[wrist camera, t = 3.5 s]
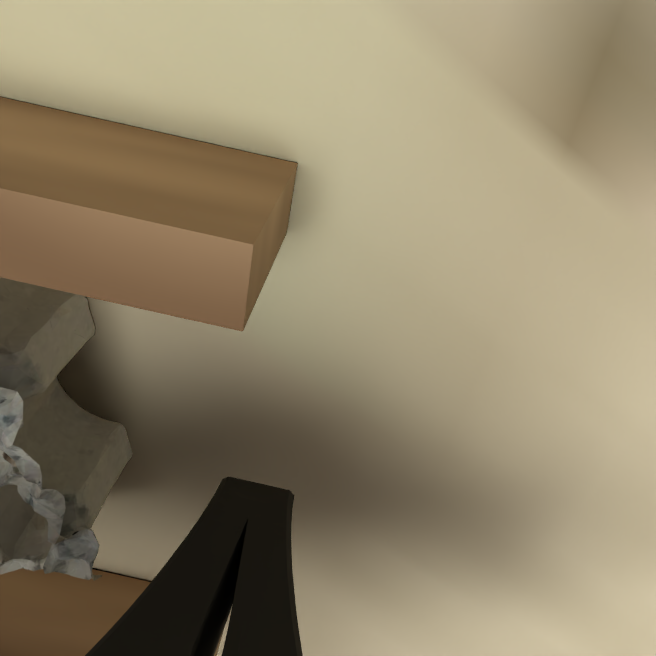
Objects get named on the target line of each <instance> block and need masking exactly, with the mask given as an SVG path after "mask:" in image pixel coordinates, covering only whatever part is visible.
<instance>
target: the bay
mask: <svg viewBox="0 0 656 656" xmlns="http://www.w3.org/2000/svg"><path fill="white" fill-rule="evenodd" d="M297 164H298V163H294V162H290V161H285V160H281V159H276V158H272V157H267V156H263V155H258V154H254V153H249V152H245V151H240V150H236V149H231V148H227V147H222V146H218V145H213V144H209V143H204V142H200V141H195V140H191V139H186V138H182V137H178V136H173V135H169V134H164V133H160V132H155V131H151V130H146V129H142V128H137V127H133V126H128V125H124V124H119V123H115V122H110V121H106V120H101V119H97V118H92V117H88V116H83V115H79V114H74V113H70V112H65V111H61V110H57V109H52V108H48V107H43V106H39V105H34V104H30V103H25V102H21V101H16V100H12V99H7V98H3V97H0V277H1V278H6V279H10V280H15V281H19V282H24V283H28V284H33V285H37V286H42V287H46V288H51V289H55V290H60V291H64V292H68V293H73V294H77V295H82V296H86V297H91V298H95V299H100V300H104V301H109V302H113V303H118V304H122V305H127V306H131V307H136V308H140V309H145V310H149V311H154V312H158V313H162V314H167V315H171V316H176V317H180V318H185V319H189V320H194V321H198V322H203V323H207V324H212V325H216V326H221V327H225V328H230V329H234V330H239V331H243V330H244V327H245V325H246V323H247V321H248V319H249V316H250V314H251V312H252V310H253V307H254V305H255V303H256V301H257V298H258V296H259V294H260V292H261V289H262V287H263V285H264V283H265V280H266V278H267V276H268V274H269V272H270V269H271V267H272V265H273V263H274V260H275V258H276V256H277V254H278V251H279V249H280V247H281V245H282V242H283V240H284V238H285V236H286V233H287V228H288V221H289V215H290V208H291V202H292V196H293V189H294V183H295V177H296V170H297ZM92 573H93V575H102V577H100V578H98V579H97V580H95V581H94V580H93V578H92V579H90V580H87V579H81V578H77V577H73V576H70V575H68V574H63V573H58V572H51V573H47V574H45V573H44V570H43V569H40V570H36V571H31V570H27V569H24V568H21V569H18V570H15V571H11V572H8V573H5V574H0V656H85V655H86V654H87V653H88V652H89V651H90V650H91V649H92V648H93V647H94V646H95V645H96V644H97V642H98V641H99V640H100V639H101V638H102V637H103V636H104V635H105V634H106V633H107V632H108V631H109V630H110V629H111V628H112V627H113V625H114V624H115V623H116V622H117V621H118V620H119V619H120V618H121V617H122V616H123V614H124V613H125V612H126V611H127V610H128V609H129V608H130V606H131V605H132V604H133V603H134V602H135V601H136V599H137V598H138V597H139V596H140V595H141V593H142V592H143V591H144V590H145V589H146V588H147V586H148V585H149V584H150V583H151V582H148V581H143V580H139V579H134V578H130V577H126V576H121V575H117V574H112V573H108V572H103V571H99V570H94V569H92ZM223 630H224V629H223ZM222 634H223V632H222ZM221 637H222V635H221ZM220 641H221V638H220V640H219V643H218V646H217V649H216V652H215V654H214V656H216V655H217V652H218V648H219V644H220Z"/></svg>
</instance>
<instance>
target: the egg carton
mask: <svg viewBox="0 0 656 656" xmlns="http://www.w3.org/2000/svg"><path fill="white" fill-rule="evenodd" d="M94 334H95V326H94V323H93V319H92V317H91V314H90V311H89V307H88V300H87V299H86V297H85V296H82V295H77V294H73V293H68V292H64V291H60V290H55V289H51V288H46V287H42V286H37V285H33V284H28V283H24V282H19V281H15V280H10V279H6V278H1V277H0V574H5V573H8V572H11V571H15V570H18V569H21V568H24V569H27V570H31V571H36V570H40V569H43V570H44V573H45V574H47V573H51V572H58V573H63V574H68V575H70V576H73V577H77V578H81V579H87V580H90V579H92V578H93V580H94V581H95V580H97V579H98V578H100V577H102V575H93V573H92V566H93V562H94V560H95V558H96V555H97V553H98V548H99V544H98V541H97V539H96V537H95V535H94V532H93V531H92V530H91V527H92V525H93V523H94V521H95V519H96V517H97V515H98V513H99V511H100V509H101V507H102V506H103V504H104V502H105V500H106V497H107V496H108V494H109V492H110V490H111V488H112V486H113V485H114V484H115V482H116V481H117V479H118V477H119V476H120V474H121V472H122V470H123V468H124V466H125V465H126V463H127V462H128V461H129V459H130V458H131V457H132V456H133V455H132V450H131V445H130V442H129V440H128V437H127V433H126V429H125V427H124V426H123V425H122V424H121V423H117V422H113V421H109V420H105V419H102V418H100V417H97V416H95V415H92V414H91V413H89V412H87V411H85V410H84V409H82V408H81V407H80V406H78V405H77V404H76V403H75V402H74V401H73V400H72V399H71V398H70V397H69V396H68V395H67V394H66V393H65V391H64V390H63V388H62V387H61V385H60V384H59V381H58V378H57V375H58V374H59V373H60V372H61V370H62V369H63V368H64V367H65V366H66V365H67V364H68V362H69V361H70V360H71V359H72V358H73V357H74V356H75V354H76V353H77V352H78V351H79V350H80V349H81V348H82V347H83V346H84V344H85V343H86V342H87V341H88V340H89V339H90V338H91V337H92V336H93V335H94Z"/></svg>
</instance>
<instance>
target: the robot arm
mask: <svg viewBox="0 0 656 656" xmlns="http://www.w3.org/2000/svg"><path fill="white" fill-rule="evenodd" d="M293 500H294V495H293V494H292V492H291V491H290V490H286V489H282V488H277V487H273V486H268V485H264V484H259V483H255V482H251V481H246V480H242V479H237V478H233V477H227V478H224V479H222V481H221V483H220V485H219V487H218V489H217V491H216V493H215V494H214V496H213V498H212V499H211V501H210V503H209V504H208V506H207V508H206V509H205V511H204V512H203V514H202V515H201V517H200V518H199V520H198V521H197V523H196V524H195V525H194V527H193V528H192V530H191V531H190V533H189V534H188V535H187V537H186V538H185V539H184V541H183V542H182V543H181V545H180V546H179V547H178V549H177V550H176V551H175V553H174V554H173V555H172V557H171V558H170V559H169V560H168V562H167V563H166V564H165V566H164V567H163V568H162V570H161V571H160V572H159V573H158V575H157V576H156V577H155V578H154V579H153V581H152V582H151V583H150V584H149V585H148V586H147V588H146V589H145V590H144V591H143V592H142V593H141V595H140V596H139V597H138V598H137V599H136V601H135V602H134V603H133V604H132V605H131V606H130V608H129V609H128V610H127V611H126V612H125V613H124V614H123V616H122V617H121V618H120V619H119V620H118V621H117V622H116V623H115V624H114V625H113V627H112V628H111V629H110V630H109V631H108V632H107V633H106V634H105V635H104V636H103V637H102V638H101V639H100V640H99V641H98V642H97V644H96V645H95V646H94V647H93V648H92V649H91V650H90V651H89V652H88V653H87V654H86V655H85V656H214V654H215V652H216V649H217V646H218V643H219V640H220V638H221V635H222V632H223V629H224V627H225V624H226V621H227V618H228V615H229V613H230V610H231V607H232V611H231V616H230V622H229V627H228V631H227V636H226V640H225V644H224V649H223V653H222V656H303V655H302V649H301V642H300V636H299V629H298V622H297V614H296V605H295V595H294V584H293V573H292V554H291V520H292V507H293ZM232 604H233V605H232Z"/></svg>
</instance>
